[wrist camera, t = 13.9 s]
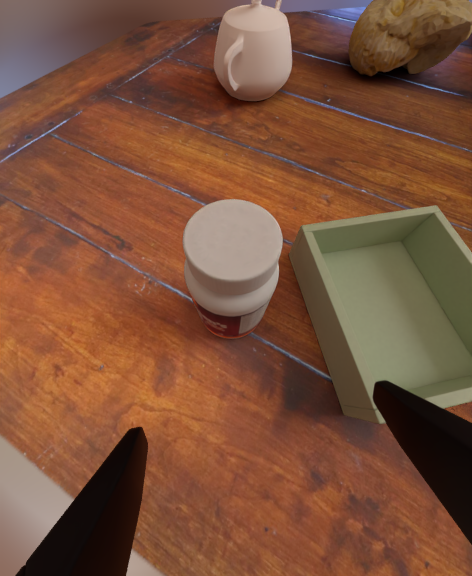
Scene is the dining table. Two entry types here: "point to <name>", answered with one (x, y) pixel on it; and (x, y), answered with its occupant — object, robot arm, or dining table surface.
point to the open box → (389, 305)
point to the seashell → (408, 34)
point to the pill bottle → (231, 265)
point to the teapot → (253, 51)
